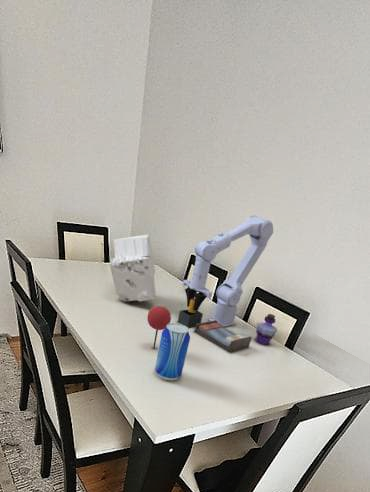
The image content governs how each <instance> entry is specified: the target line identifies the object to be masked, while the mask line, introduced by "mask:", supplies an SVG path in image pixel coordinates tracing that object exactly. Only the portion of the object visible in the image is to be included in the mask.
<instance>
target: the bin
mask: <svg viewBox="0 0 370 492" xmlns="http://www.w3.org/2000/svg"><path fill="white" fill-rule="evenodd" d="M203 315H204V313H202V312H200V311H199V310H196V313H190V312H189V311H188V309H182V310H181V309H180V310H179V314H178V319H177V323H178V324H182V325H184V326H186V327H187V328H191V327H196V324H198V323H202V319H203Z"/></svg>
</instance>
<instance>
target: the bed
mask: <svg viewBox="0 0 370 492" xmlns="http://www.w3.org/2000/svg"><path fill="white" fill-rule="evenodd" d="M194 327H195V328H194V333H196V334H197V335H199V336H201V337H202V338H204V339H205V340H208V341H209V342H211V343H213V344H214V345H215V346H218V347H220V348H221V349H222V350H224V351H226V352H228V353H229V354H232V353H234V352H238V351H241V350H245V349H248V348H249V347H250V344H251V342H252V336H250V335H249V336H243V335H241V334H239V333H238V334H236V333H235V332H233V331H231V330H229V329H228V328H226V327H223V326H222V325H221V324H219V323H217V321H216V320H214V321H210V320H208V321H204V322H201V323H198V324H196V326H194Z"/></svg>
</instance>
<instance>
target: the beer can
mask: <svg viewBox="0 0 370 492" xmlns="http://www.w3.org/2000/svg"><path fill="white" fill-rule="evenodd" d="M190 340H191V336H190V329H189V327H186V326H184V325H182V324H180V323H179V322H170V323H169V324H167V326H166V328H165V329H163V330H161V336H160V340H159V346H158V350H157V357H156V361H155V366H154V371H155V373H156V376H158V378H159V379H162V380H165V381H170V382H174V381H177V380H178V379H179V378H180V377H182V374H183V369H184V366H185V361H186V358H187V354H188V350H189V346H190Z"/></svg>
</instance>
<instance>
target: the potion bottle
mask: <svg viewBox="0 0 370 492" xmlns="http://www.w3.org/2000/svg"><path fill="white" fill-rule="evenodd" d="M263 320H264V322H258V323H257V326H256V329H255V332H256V339H255V342H256V343H257V344H259V345H262V346H268V345H269V344H270V342H271V341H272V339H273V337H275V335H276V334H277V332H278V331H279V330H278V329H277V326H275V325H273V324H275V323H276V316H275V315H274V314H273V313H268V314H267V315H265V316H264V318H263Z"/></svg>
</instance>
